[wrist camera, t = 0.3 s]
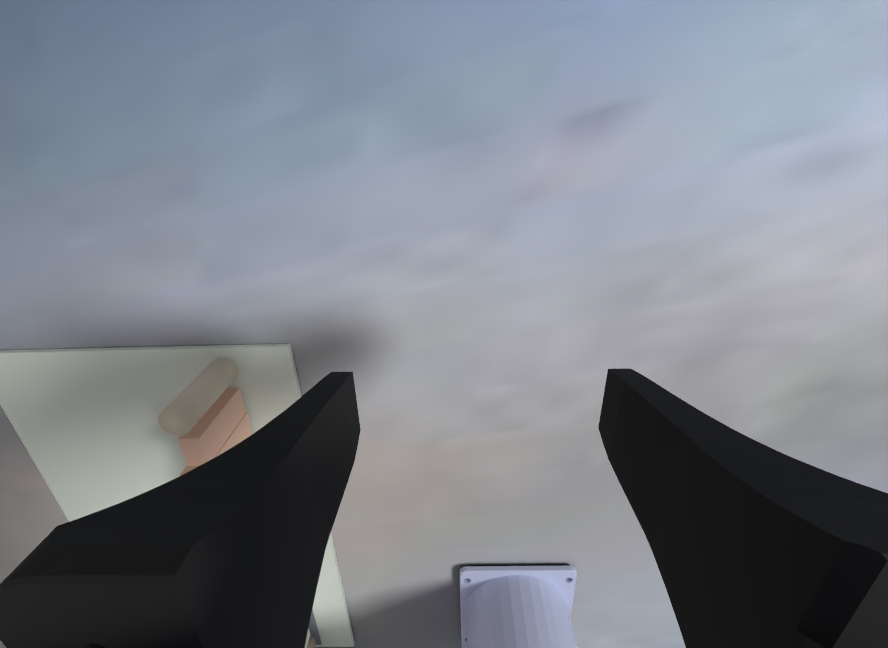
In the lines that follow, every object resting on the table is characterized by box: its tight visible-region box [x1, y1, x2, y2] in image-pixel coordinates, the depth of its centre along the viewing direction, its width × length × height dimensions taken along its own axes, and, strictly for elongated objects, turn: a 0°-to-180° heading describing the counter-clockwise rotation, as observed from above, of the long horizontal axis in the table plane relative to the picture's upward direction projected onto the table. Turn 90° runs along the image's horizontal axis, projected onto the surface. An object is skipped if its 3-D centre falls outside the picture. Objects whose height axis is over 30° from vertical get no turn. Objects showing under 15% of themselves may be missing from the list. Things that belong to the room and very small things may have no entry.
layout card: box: [0, 344, 355, 647], centre depth 28 cm, size 27×17×1 cm, turn 2°
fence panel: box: [158, 358, 252, 476], centre depth 22 cm, size 12×1×5 cm, turn 2°
